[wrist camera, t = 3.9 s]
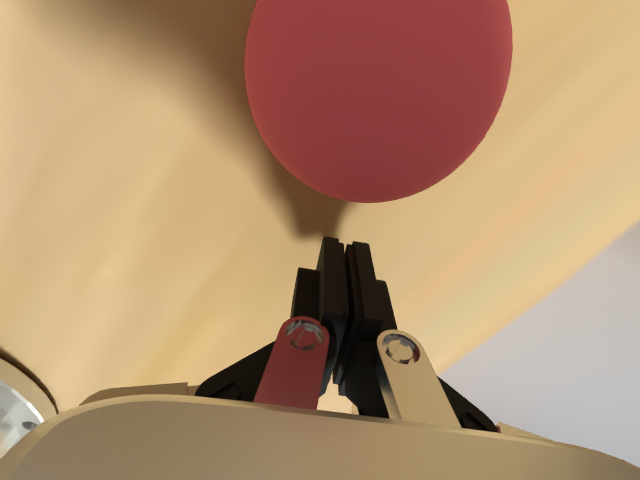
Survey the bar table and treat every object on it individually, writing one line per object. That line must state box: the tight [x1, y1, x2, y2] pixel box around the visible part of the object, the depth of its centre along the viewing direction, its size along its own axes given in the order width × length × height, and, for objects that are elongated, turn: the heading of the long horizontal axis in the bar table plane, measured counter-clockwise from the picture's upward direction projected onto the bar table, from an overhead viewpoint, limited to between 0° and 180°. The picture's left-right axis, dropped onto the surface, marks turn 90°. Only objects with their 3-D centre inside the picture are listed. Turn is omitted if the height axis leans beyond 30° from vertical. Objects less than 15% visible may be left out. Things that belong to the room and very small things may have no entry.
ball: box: [244, 0, 513, 203], centre depth 8 cm, size 6×6×6 cm
